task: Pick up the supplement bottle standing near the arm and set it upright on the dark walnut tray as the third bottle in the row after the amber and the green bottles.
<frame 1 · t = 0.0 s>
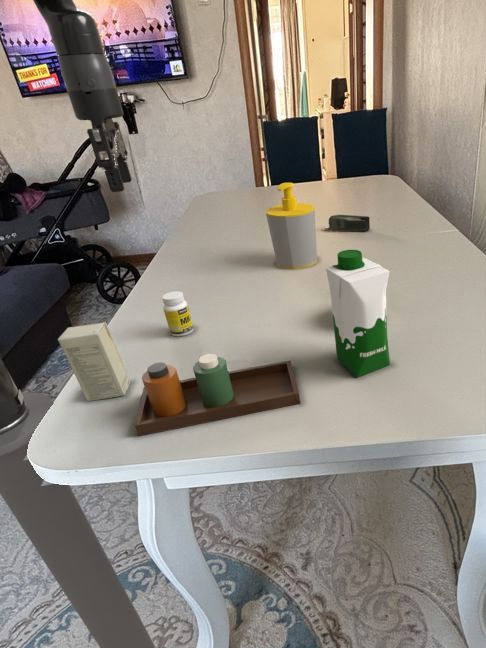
hand: (122, 186, 87), 29 cm above the table, tool pointing down, fingers open, 8 cm apart
tray: (222, 399, 77), on the table
milk carton: (363, 363, 85), on the table
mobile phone: (347, 231, 156), on the table
amber bottle: (170, 407, 75), resting on tray
supplement bottle: (182, 332, 99), on the table
cosmetic box: (109, 392, 81), on the table
ramekin: (361, 319, 100), on the table
soap bottle: (297, 262, 132), on the table
green bottle: (218, 398, 77), resting on tray
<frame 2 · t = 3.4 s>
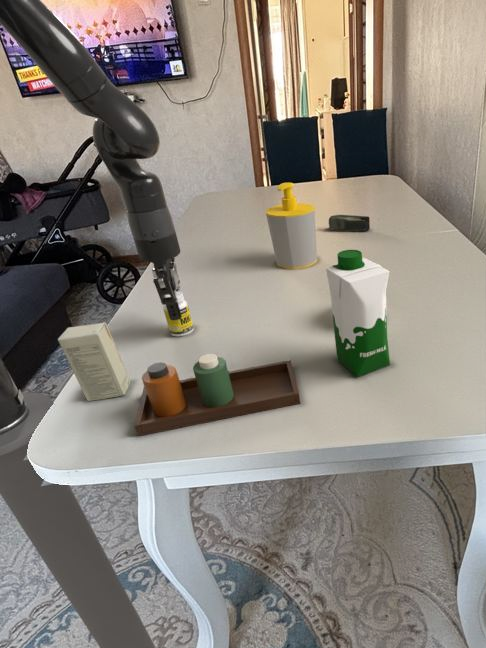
hand: (177, 313, 97), 4 cm above the table, tool pointing down, fingers closed on supplement bottle, 4 cm apart
supplement bottle: (182, 332, 99), on the table, touching gripper
everything else where it was.
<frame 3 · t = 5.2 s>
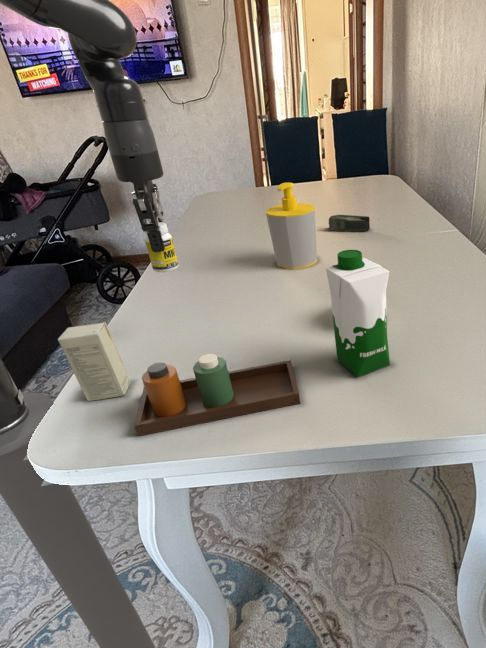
hand: (160, 246, 88), 19 cm above the table, tool pointing down, fingers closed on supplement bottle, 4 cm apart
supplement bottle: (166, 269, 91), point 14 cm above the table, touching gripper
everything else where it was.
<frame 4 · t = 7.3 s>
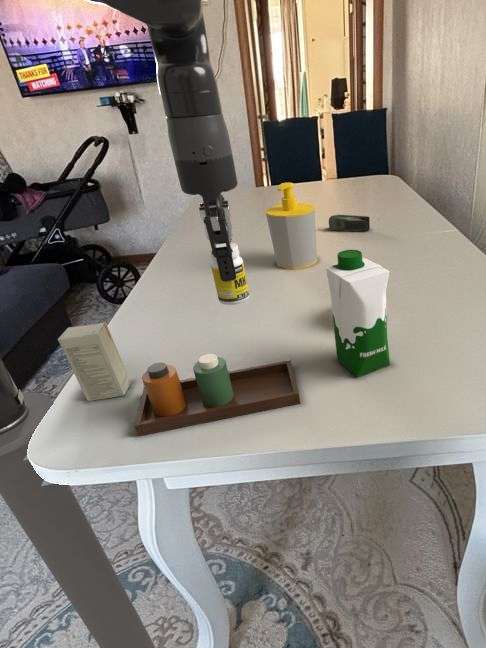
hand: (228, 273, 71), 20 cm above the table, tool pointing down, fingers closed on supplement bottle, 4 cm apart
supplement bottle: (234, 300, 73), point 16 cm above the table, touching gripper
everything else where it was.
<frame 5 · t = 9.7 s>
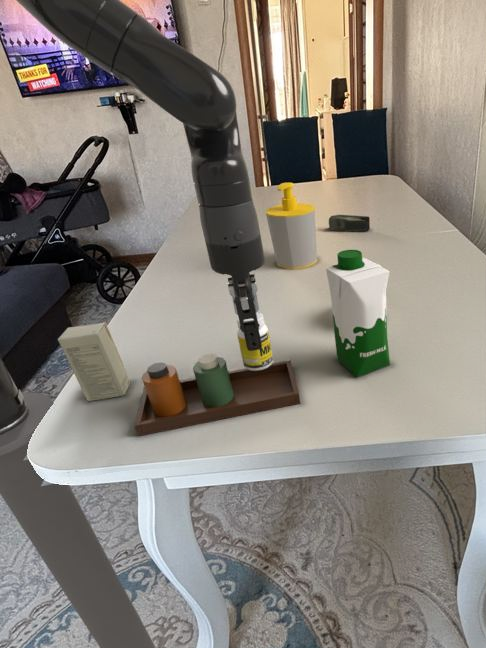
hand: (253, 340, 73), 10 cm above the table, tool pointing down, fingers closed on supplement bottle, 4 cm apart
supplement bottle: (259, 364, 76), point 5 cm above the table, touching gripper
everything else where it was.
when the fingers open (5 cm above the table, at t = 11.4 s): supplement bottle stays where it is, resting on tray.
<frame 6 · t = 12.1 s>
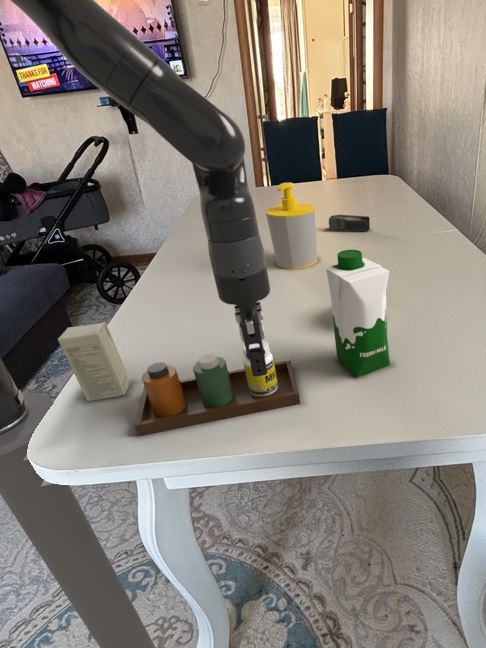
hand: (258, 360, 76), 6 cm above the table, tool pointing down, fingers open, 8 cm apart
supplement bottle: (264, 390, 79), resting on tray
everything else where it was.
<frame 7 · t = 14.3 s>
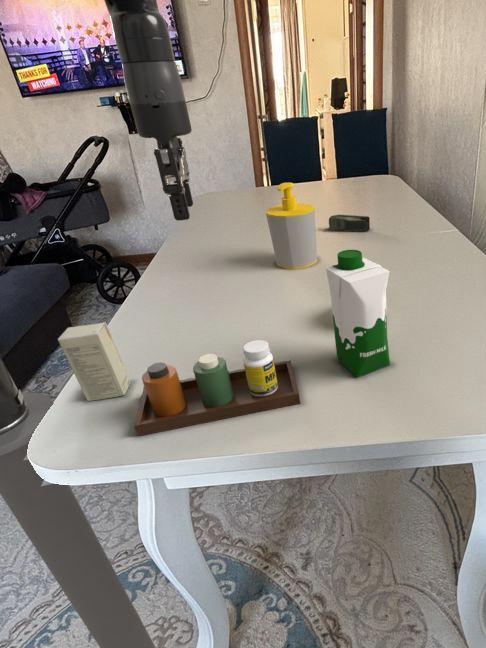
hand: (184, 212, 76), 27 cm above the table, tool pointing down, fingers open, 8 cm apart
nothing on the table moved.
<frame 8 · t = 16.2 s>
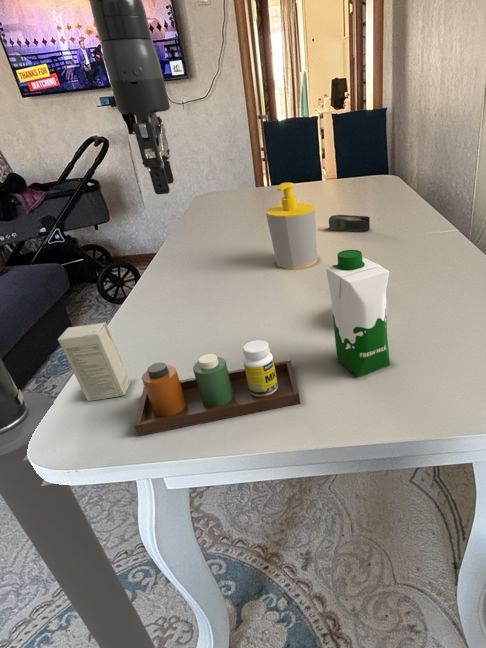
hand: (165, 188, 79), 30 cm above the table, tool pointing down, fingers open, 8 cm apart
nothing on the table moved.
at the end: supplement bottle 0.2 cm from the target spot in the tray, point 0.3 cm above the tray's base; supplement bottle tilted 0°; green bottle moved 0.0 cm from its start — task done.
